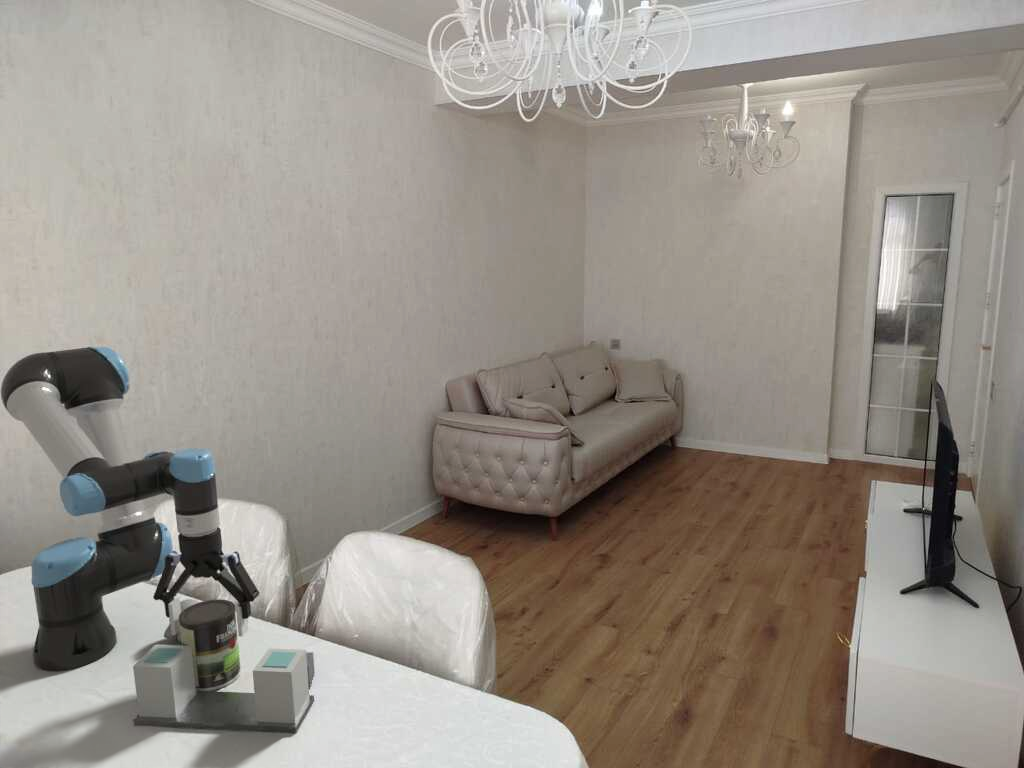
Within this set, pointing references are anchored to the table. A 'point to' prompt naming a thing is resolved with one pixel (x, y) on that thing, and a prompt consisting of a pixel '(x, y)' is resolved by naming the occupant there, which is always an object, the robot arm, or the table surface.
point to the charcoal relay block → (310, 667)
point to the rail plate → (223, 714)
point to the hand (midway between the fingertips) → (210, 632)
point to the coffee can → (212, 643)
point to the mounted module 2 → (281, 685)
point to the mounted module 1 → (164, 681)
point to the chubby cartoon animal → (183, 605)
